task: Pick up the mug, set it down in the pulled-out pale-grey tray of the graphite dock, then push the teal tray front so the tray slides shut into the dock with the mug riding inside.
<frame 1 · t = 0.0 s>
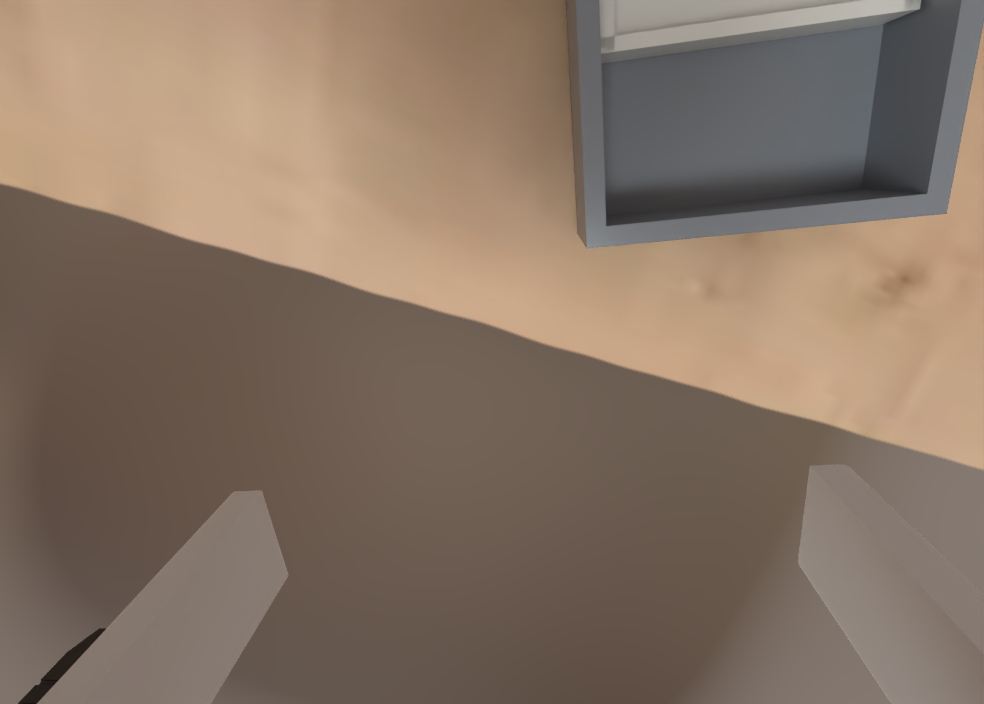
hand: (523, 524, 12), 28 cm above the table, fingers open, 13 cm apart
dock: (725, 62, 32), on the table
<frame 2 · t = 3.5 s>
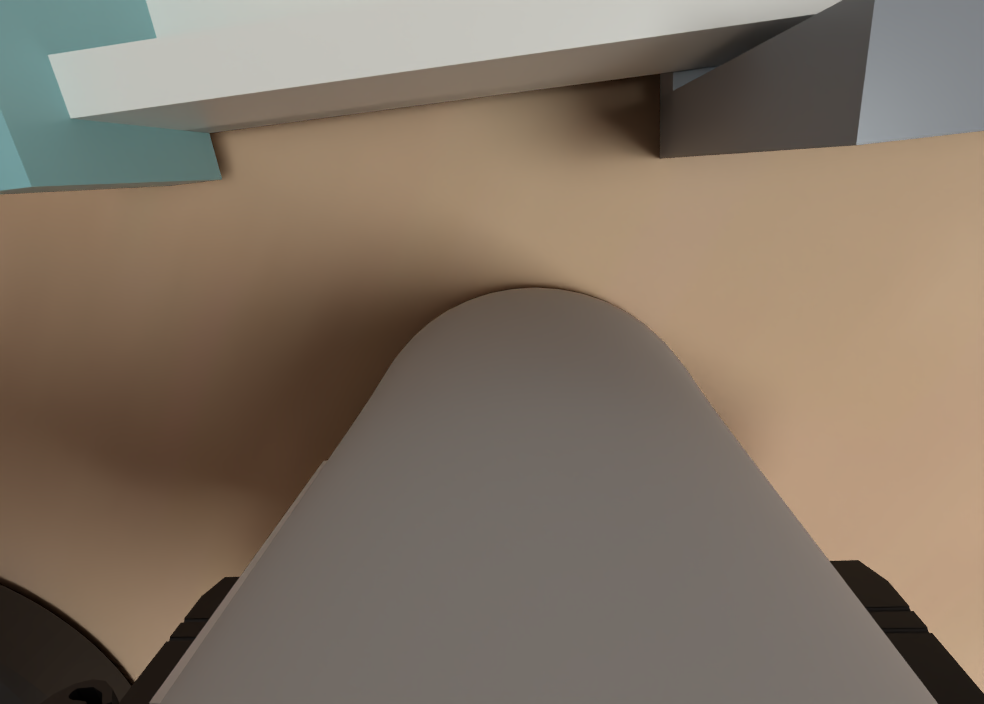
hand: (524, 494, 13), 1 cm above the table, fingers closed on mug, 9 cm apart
mug: (495, 476, 14), on the table, touching gripper
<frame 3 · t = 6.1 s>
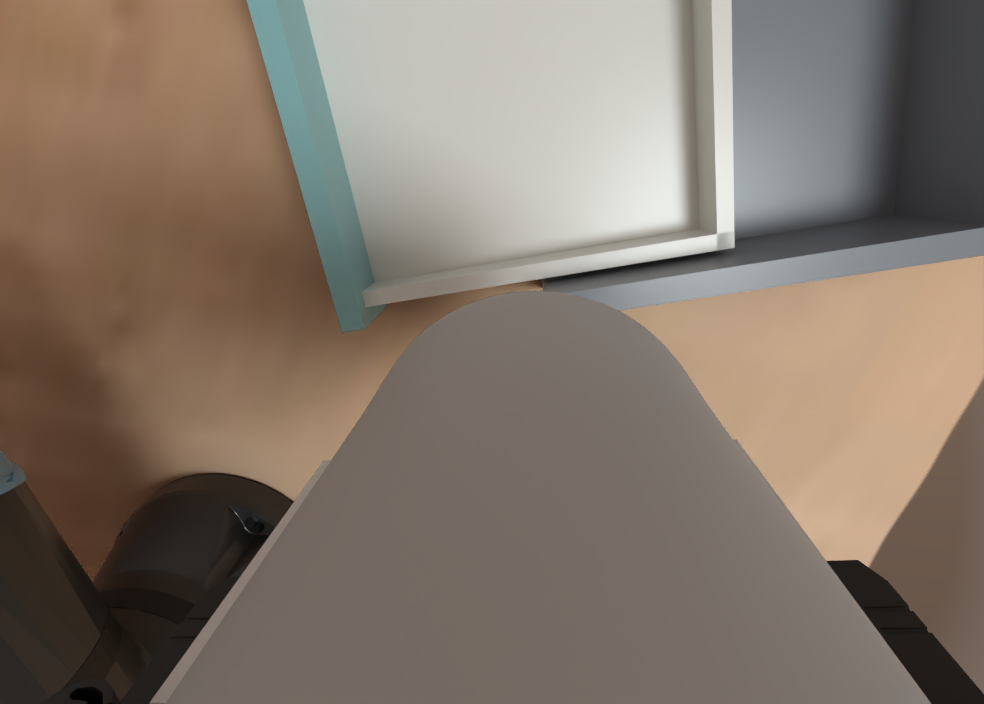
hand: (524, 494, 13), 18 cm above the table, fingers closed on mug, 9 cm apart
mug: (496, 478, 14), point 17 cm above the table, touching gripper
tray: (503, 98, 23), point 3 cm above the table, slide at 9.0 cm
dock: (711, 66, 25), on the table
when the fingers open (4 cm above the table, at t = 8.6 s): mug drops 2 cm, resting on tray.
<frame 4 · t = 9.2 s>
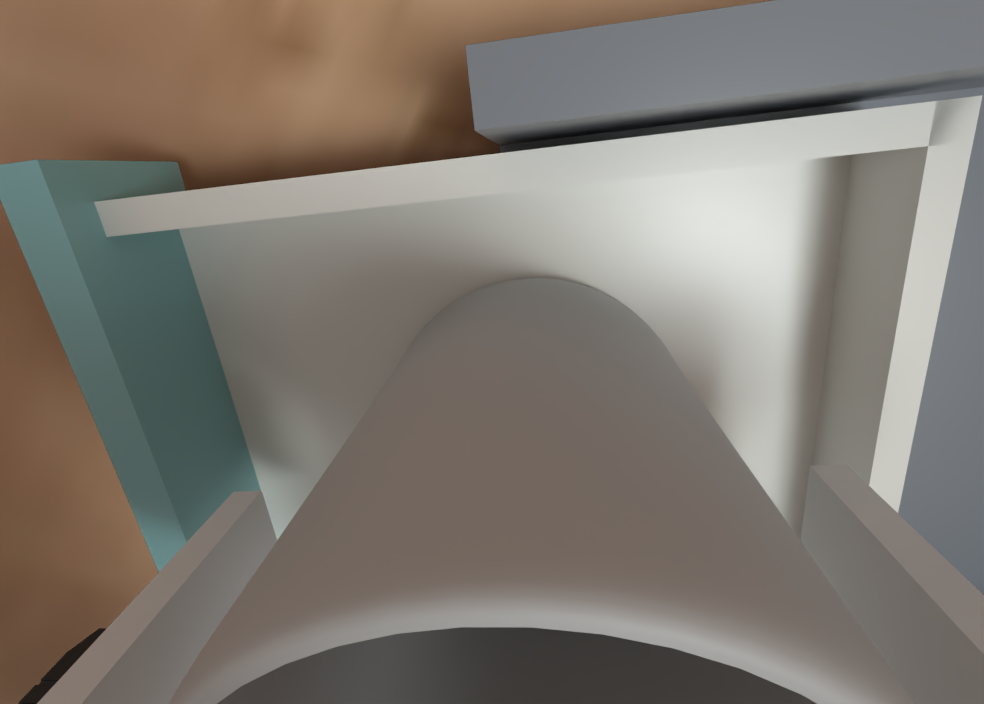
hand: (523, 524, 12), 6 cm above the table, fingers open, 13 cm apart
mug: (501, 448, 16), point 2 cm above the table, touching tray
tray: (507, 470, 14), point 3 cm above the table, slide at 8.9 cm, touching mug
dock: (830, 397, 16), on the table
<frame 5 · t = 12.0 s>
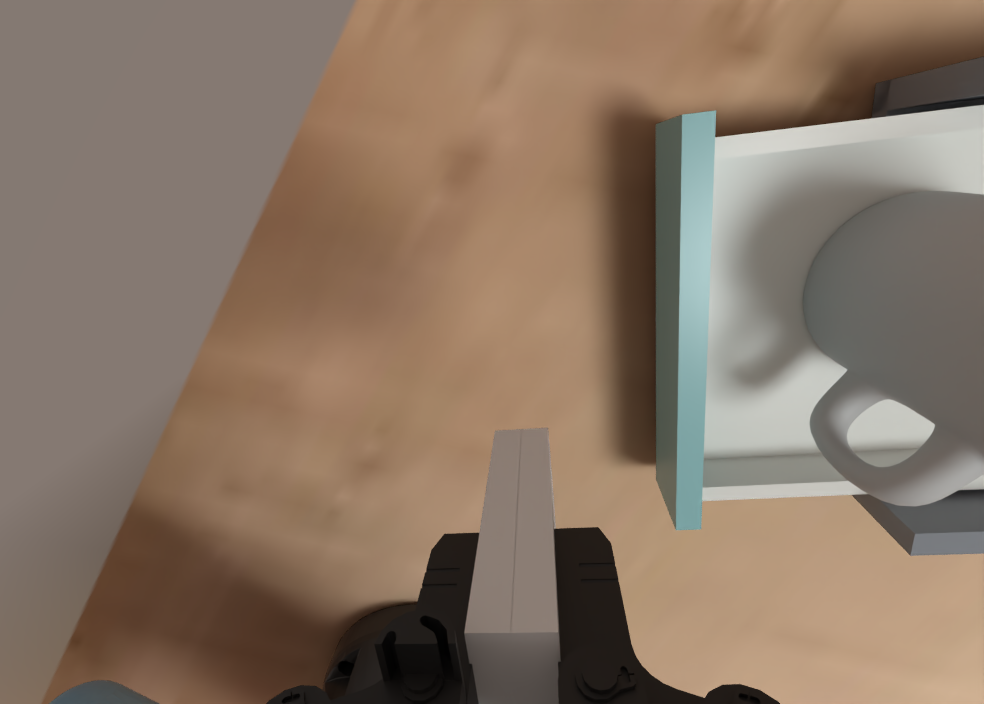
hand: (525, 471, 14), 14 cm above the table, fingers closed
mug: (864, 314, 24), point 2 cm above the table, touching tray
tray: (892, 319, 22), point 3 cm above the table, slide at 8.3 cm, touching mug
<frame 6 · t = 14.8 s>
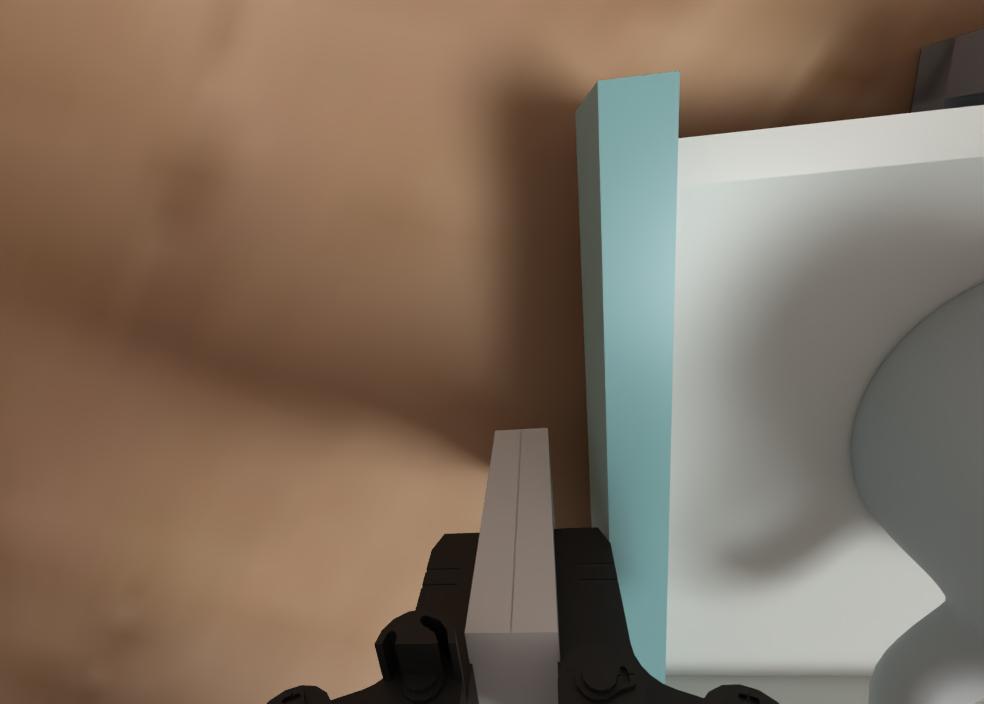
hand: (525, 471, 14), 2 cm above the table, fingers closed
mug: (960, 464, 13), point 2 cm above the table, touching tray
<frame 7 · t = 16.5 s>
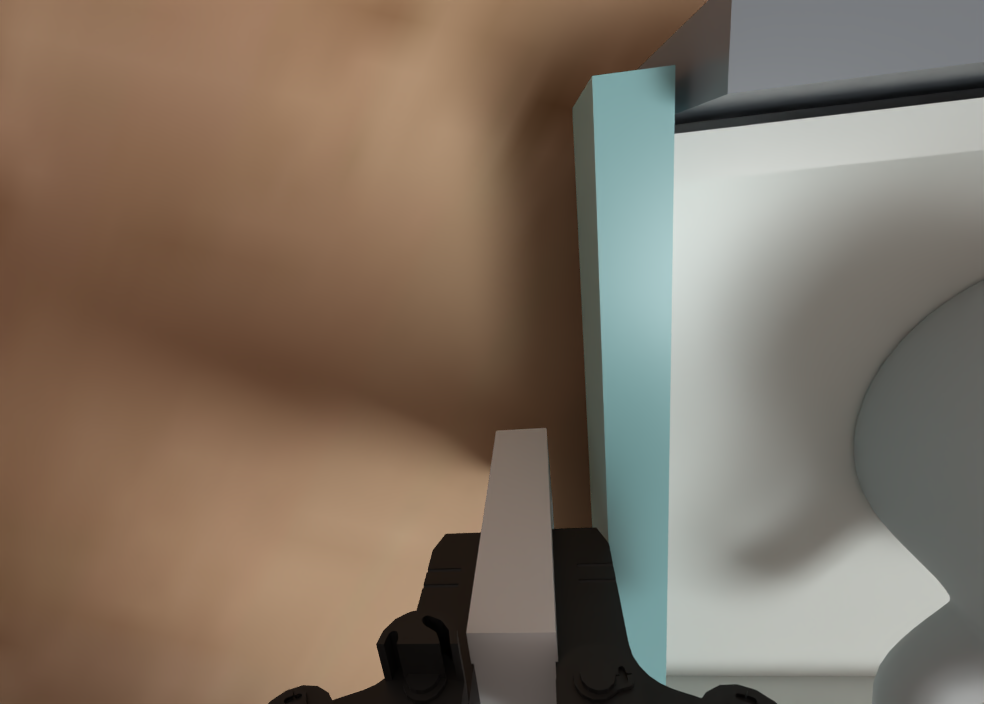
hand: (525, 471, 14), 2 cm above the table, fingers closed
mug: (965, 462, 13), point 2 cm above the table, touching tray
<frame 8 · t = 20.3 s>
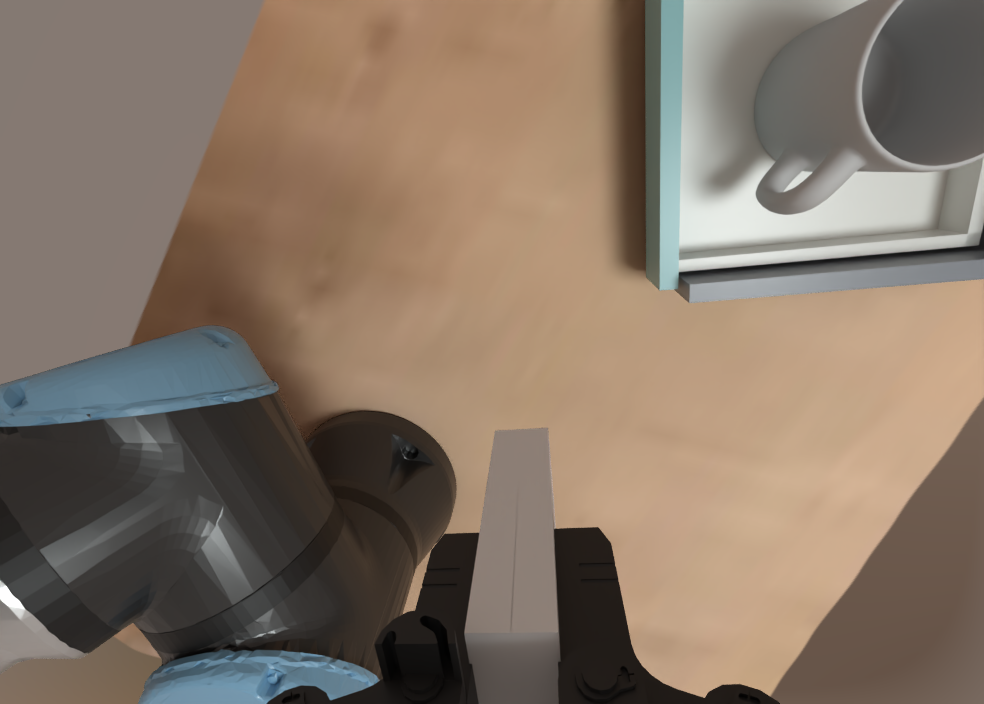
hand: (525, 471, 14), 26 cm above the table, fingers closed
mug: (799, 125, 32), point 2 cm above the table, touching tray
tray: (817, 119, 31), point 3 cm above the table, slide at 0.0 cm, touching mug
dock: (816, 121, 34), on the table
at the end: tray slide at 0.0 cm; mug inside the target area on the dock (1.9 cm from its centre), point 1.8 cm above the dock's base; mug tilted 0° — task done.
